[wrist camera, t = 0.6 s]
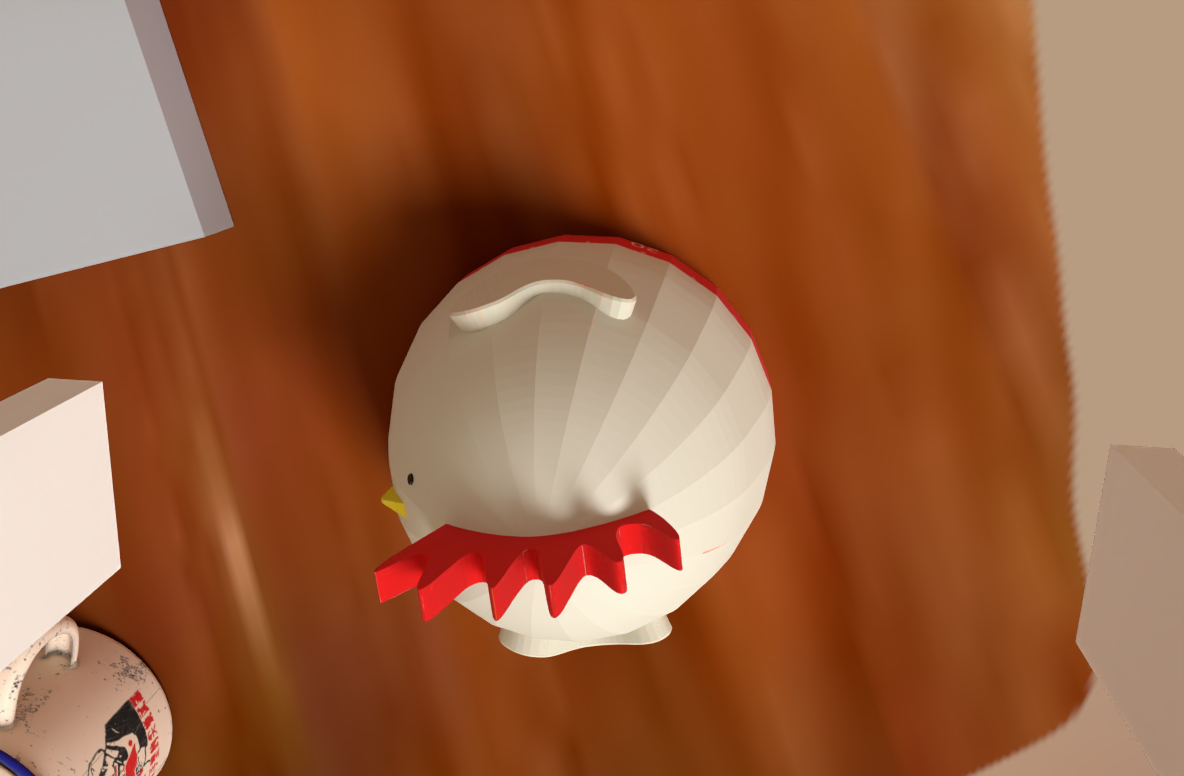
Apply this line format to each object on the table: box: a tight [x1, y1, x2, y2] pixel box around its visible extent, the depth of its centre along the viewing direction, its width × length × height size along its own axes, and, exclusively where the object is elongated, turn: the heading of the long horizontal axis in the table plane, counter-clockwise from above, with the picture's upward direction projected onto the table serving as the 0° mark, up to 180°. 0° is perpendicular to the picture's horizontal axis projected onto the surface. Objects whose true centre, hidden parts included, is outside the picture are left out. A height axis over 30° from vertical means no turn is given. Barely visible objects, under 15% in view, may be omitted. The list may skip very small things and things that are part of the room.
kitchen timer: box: [374, 235, 775, 657], centre depth 35 cm, size 14×14×15 cm
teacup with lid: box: [0, 616, 172, 776], centre depth 42 cm, size 12×9×12 cm
